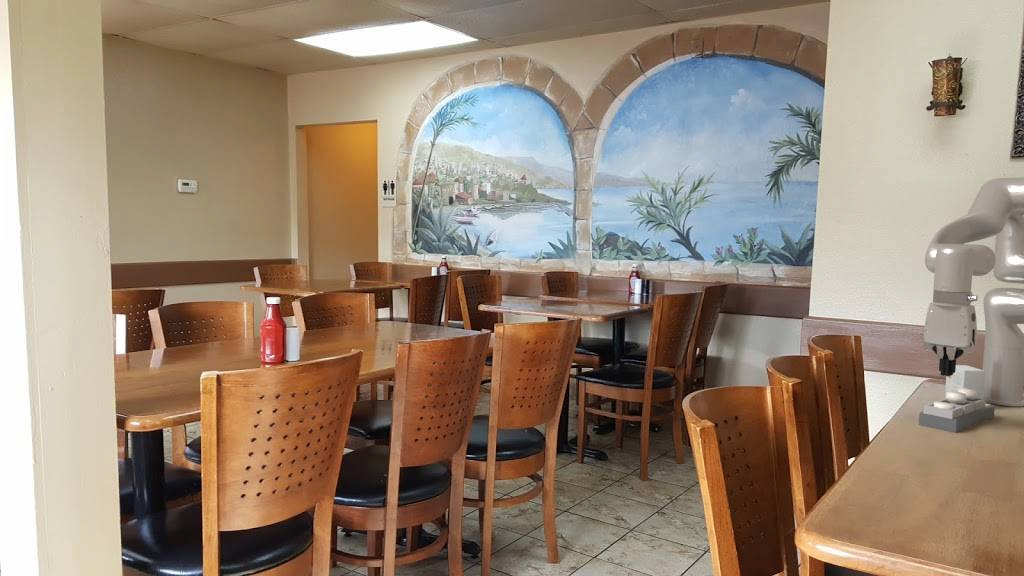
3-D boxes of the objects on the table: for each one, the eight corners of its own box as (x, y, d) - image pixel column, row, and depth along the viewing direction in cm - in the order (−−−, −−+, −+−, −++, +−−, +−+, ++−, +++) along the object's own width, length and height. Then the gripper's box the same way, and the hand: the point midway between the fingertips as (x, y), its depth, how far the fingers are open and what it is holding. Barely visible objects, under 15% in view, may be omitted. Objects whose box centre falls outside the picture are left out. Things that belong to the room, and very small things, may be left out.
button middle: (949, 398, 175) (950, 390, 175) (967, 401, 172) (968, 393, 172) (943, 400, 173) (943, 392, 173) (961, 404, 170) (962, 396, 170)
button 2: (961, 395, 180) (961, 387, 180) (979, 398, 177) (979, 390, 176) (954, 397, 177) (955, 389, 177) (972, 400, 174) (973, 392, 174)
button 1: (937, 409, 171) (938, 400, 171) (955, 412, 168) (956, 404, 168) (930, 411, 169) (931, 403, 169) (949, 415, 166) (949, 406, 166)
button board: (958, 410, 185) (960, 391, 184) (994, 417, 179) (995, 398, 178) (918, 424, 170) (920, 404, 170) (955, 432, 164) (957, 411, 163)
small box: (983, 410, 186) (986, 370, 185) (961, 409, 186) (964, 370, 185) (964, 402, 194) (967, 364, 193) (943, 402, 194) (946, 364, 193)
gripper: (994, 300, 163) (988, 378, 165) (924, 294, 174) (920, 367, 176) (981, 302, 158) (976, 383, 160) (910, 296, 170) (906, 371, 172)
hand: (946, 375), depth 168 cm, fingers closed
